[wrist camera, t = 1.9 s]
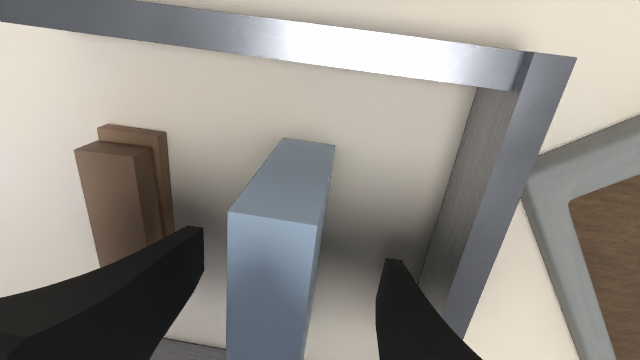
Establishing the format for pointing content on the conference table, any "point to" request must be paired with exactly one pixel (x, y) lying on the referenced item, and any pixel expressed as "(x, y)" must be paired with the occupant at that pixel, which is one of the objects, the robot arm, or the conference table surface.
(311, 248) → the panel
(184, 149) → the conference table surface
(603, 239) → the picture frame
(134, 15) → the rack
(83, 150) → the offcut top
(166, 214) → the block
